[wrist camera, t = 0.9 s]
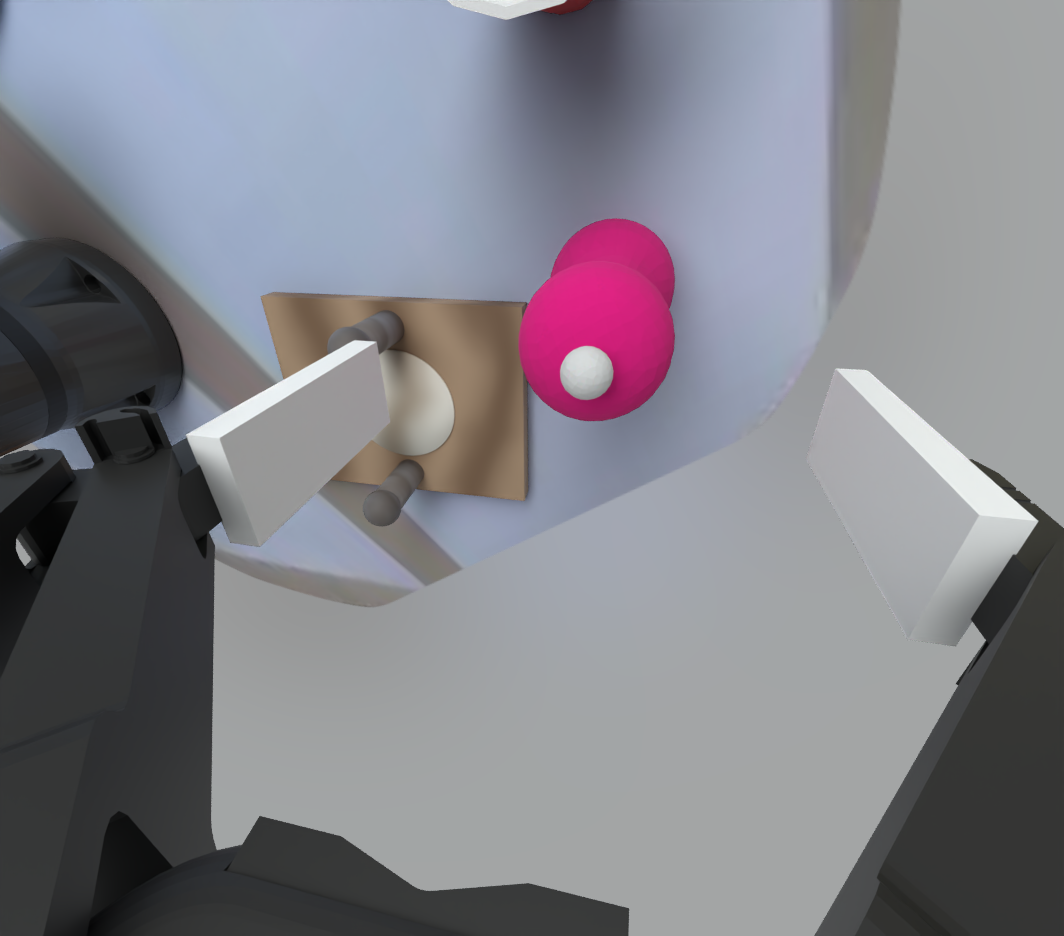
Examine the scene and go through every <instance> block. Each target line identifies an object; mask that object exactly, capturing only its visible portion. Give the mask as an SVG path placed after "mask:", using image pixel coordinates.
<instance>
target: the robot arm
mask: <svg viewBox="0 0 1064 936" xmlns="http://www.w3.org/2000/svg"><path fill="white" fill-rule="evenodd" d="M181 375H182V366H181V358H180V353H179V349H178V345H177V342H176V339H175V337H174V334H173V332H172V330H171V327H170V325H169V323H168V322H167V320H166V318H165V316H164V314H163V313H162V311H161V310H160V308H159V307H158V305H157V304H156V302H155V301H154V299H153V298H152V297H151V296H150V294H149V293H148V292H147V291H146V289H145V288H144V287H143V286H142V285H141V284H140V283H139V282H138V281H137V280H136V279H135V278H134V277H133V276H132V275H131V274H130V273H129V272H128V271H127V270H126V269H124V268H123V267H122V266H121V265H119V264H118V263H117V262H116V261H114V260H113V259H111V258H110V257H108V256H107V255H105V254H104V253H102V252H100V251H98V250H96V249H95V248H92V247H90V246H88V245H86V244H83V243H80V242H77V241H74V240H70V239H64V238H48V239H39V240H29V241H22V242H18V243H15V244H11V245H9V246H7V247H5V248H3V249H1V250H0V457H1V456H3V455H5V454H7V453H10V452H12V451H14V450H16V449H19V448H21V447H23V446H25V445H28V444H30V443H32V442H34V441H37V440H39V439H41V438H43V437H46V436H48V435H50V434H53V433H55V432H57V431H60V430H63V429H71V428H76V430H77V432H78V434H79V436H80V438H81V440H82V441H83V443H84V445H85V447H86V449H87V451H88V453H89V454H90V456H91V458H92V460H93V462H94V466H93V468H92V469H79V470H72V469H71V467H70V465H69V464H68V462H67V460H66V458H65V457H64V455H63V453H62V452H61V451H60V450H55V449H39V450H33V451H29V450H24V451H19V452H17V453H12V454H8V455H6V456H4V457H3V458H1V459H0V936H628V926H629V924H628V923H629V908H625V907H621V906H617V905H613V904H609V903H605V902H601V901H597V900H593V899H589V898H585V897H581V896H577V895H573V894H569V893H565V892H561V891H557V890H553V889H549V888H545V887H541V886H537V885H533V884H529V883H527V884H515V885H502V886H490V887H478V888H465V889H453V890H439V891H424V890H420V889H417V888H415V887H414V886H412V885H410V884H409V883H408V882H406V881H405V880H403V879H402V878H400V877H399V876H398V875H396V874H395V873H393V872H392V871H390V870H389V869H387V868H386V867H384V866H383V865H382V864H380V863H379V862H377V861H376V860H374V859H373V858H372V857H370V856H368V855H367V854H366V853H364V852H363V851H361V850H360V849H359V848H357V847H356V846H354V845H353V844H351V843H350V842H348V841H347V840H346V839H344V838H343V837H341V836H337V835H334V834H330V833H326V832H322V831H318V830H313V829H310V828H306V827H302V826H297V825H294V824H290V823H286V822H282V821H278V820H274V819H270V818H266V817H262V816H259V818H258V820H257V821H256V823H255V825H254V826H253V828H252V830H251V831H250V833H249V835H248V836H247V838H246V840H245V841H244V843H243V844H242V845H239V846H234V847H230V848H225V849H221V850H216V846H215V843H214V840H213V834H212V828H211V776H212V773H211V772H212V771H211V770H212V702H213V698H212V697H213V629H214V556H215V545H214V543H213V540H212V538H211V536H210V534H209V531H210V530H211V529H213V528H214V527H215V526H216V525H218V524H219V523H220V522H222V524H223V526H224V529H225V531H226V534H227V536H228V539H229V541H230V543H235V544H242V545H249V546H256V547H260V546H261V545H263V544H264V543H265V542H266V541H267V540H268V539H269V538H270V537H271V536H272V535H273V534H274V533H275V532H276V531H277V530H278V529H279V528H280V527H281V526H282V525H283V524H284V523H285V522H287V521H288V520H289V519H290V518H291V517H292V516H293V515H294V514H295V513H296V512H297V511H298V510H299V509H300V508H301V507H302V506H303V505H304V504H305V503H306V502H307V501H308V500H309V499H310V498H312V497H313V496H314V495H315V494H316V493H317V492H318V491H319V490H320V489H321V488H322V487H323V486H324V485H325V484H326V483H327V482H328V481H329V480H330V479H331V478H332V477H333V476H334V475H336V474H337V473H338V472H339V471H340V470H341V469H342V468H343V467H344V466H345V465H346V464H347V463H348V462H349V461H350V460H351V459H352V458H353V457H354V456H355V455H356V454H357V453H358V452H359V451H361V450H362V449H363V448H364V447H365V446H366V445H367V444H368V443H369V442H370V441H371V440H372V439H373V438H374V437H375V436H376V435H377V434H378V433H379V432H380V431H381V430H382V429H383V428H384V427H386V426H387V425H388V424H389V423H390V418H389V412H388V406H387V400H386V394H385V388H384V382H383V376H382V371H381V365H380V359H379V353H378V347H377V342H374V341H357V340H354V341H352V342H350V343H348V344H347V345H345V346H343V347H341V348H340V349H338V350H336V351H334V352H332V353H331V354H329V355H327V356H325V357H323V358H322V359H320V360H318V361H316V362H315V363H313V364H311V365H309V366H307V367H306V368H304V369H302V370H300V371H299V372H297V373H295V374H293V375H291V376H290V377H288V378H286V379H284V380H283V381H281V382H279V383H277V384H275V385H274V386H272V387H270V388H268V389H267V390H265V391H263V392H261V393H259V394H258V395H256V396H254V397H252V398H250V399H249V400H247V401H245V402H243V403H242V404H240V405H238V406H236V407H234V408H233V409H231V410H229V411H227V412H226V413H224V414H222V415H220V416H218V417H217V418H215V419H213V420H211V421H210V422H208V423H206V424H204V425H202V426H201V427H199V428H197V429H195V430H194V431H192V432H190V433H188V434H186V437H187V438H186V439H184V440H182V441H180V442H179V443H177V444H175V445H173V446H171V444H170V442H169V439H168V437H167V435H166V433H165V430H164V428H163V426H162V423H161V421H160V419H159V416H158V414H157V412H156V411H157V410H159V409H161V408H163V407H165V406H166V405H168V404H169V403H170V402H171V401H172V400H173V399H174V397H175V396H176V394H177V392H178V389H179V387H180V383H181ZM806 460H807V462H808V464H809V465H810V467H811V469H812V471H813V472H814V474H815V476H816V478H817V480H818V481H819V483H820V485H821V487H822V489H823V490H824V492H825V494H826V495H827V497H828V499H829V501H830V503H831V505H832V506H833V508H834V510H835V512H836V513H837V515H838V517H839V519H840V520H841V522H842V524H843V526H844V528H845V529H846V531H847V533H848V535H849V537H850V538H851V540H852V542H853V544H854V545H855V547H856V549H857V551H858V553H859V554H860V556H861V558H862V560H863V561H864V563H865V565H866V567H867V568H868V570H869V572H870V574H871V576H872V577H873V579H874V581H875V583H876V585H877V586H878V588H879V590H880V592H881V593H882V595H883V597H884V599H885V601H886V602H887V604H888V606H889V608H890V610H891V611H892V613H893V615H894V616H895V618H896V620H897V622H898V624H899V626H900V627H901V629H902V631H903V633H904V634H905V636H906V638H907V639H908V640H914V641H921V642H929V643H935V644H942V645H950V646H956V645H957V644H958V642H959V640H960V639H961V637H962V636H963V635H964V633H965V632H966V630H967V629H968V627H969V625H970V624H971V622H973V623H974V624H975V626H976V627H977V628H978V630H979V631H980V633H981V634H982V635H983V637H984V638H985V639H986V641H985V643H984V644H983V646H982V647H981V648H980V650H979V651H978V653H977V654H976V656H975V657H974V658H973V660H972V661H971V663H970V664H969V666H968V667H967V669H966V670H965V671H964V673H963V674H962V676H961V677H960V678H959V680H958V681H957V683H956V684H957V685H958V687H957V689H956V690H955V692H954V694H953V696H952V697H951V699H950V701H949V703H948V704H947V706H946V708H945V710H944V711H943V713H942V715H941V717H940V718H939V720H938V722H937V723H936V725H935V727H934V729H933V730H932V732H931V734H930V736H929V737H928V739H927V741H926V743H925V744H924V746H923V748H922V750H921V751H920V753H919V755H918V757H917V758H916V760H915V762H914V763H913V765H912V767H911V769H910V770H909V772H908V774H907V776H906V777H905V779H904V781H903V783H902V784H901V786H900V788H899V790H898V791H897V793H896V795H895V797H894V798H893V800H892V802H891V804H890V805H889V807H888V809H887V810H886V812H885V814H884V816H883V817H882V819H881V821H880V823H879V824H878V826H877V828H876V830H875V831H874V833H873V835H872V837H871V838H870V840H869V842H868V843H867V845H866V847H865V849H864V850H863V852H862V854H861V856H860V857H859V859H858V861H857V863H856V864H855V866H854V868H853V870H852V871H851V873H850V875H849V877H848V879H847V880H846V882H845V884H844V885H843V887H842V889H841V891H840V892H839V894H838V896H837V898H836V899H835V901H834V903H833V904H832V906H831V908H830V910H829V911H828V913H827V915H826V917H825V918H824V920H823V922H822V924H821V925H820V927H819V929H818V931H817V932H816V934H815V936H1064V528H1063V527H1061V526H1060V525H1059V524H1058V523H1057V522H1056V521H1054V520H1053V519H1052V518H1051V517H1050V516H1048V515H1047V514H1046V513H1045V512H1044V511H1042V510H1041V509H1040V508H1039V507H1038V506H1037V505H1035V504H1032V503H1030V501H1031V500H1030V499H1028V498H1027V497H1026V496H1025V495H1024V494H1023V493H1021V492H1020V491H1016V488H1015V487H1014V486H1013V485H1012V484H1011V483H1009V482H1008V481H1007V480H1006V479H1005V478H1004V477H1002V476H1001V475H1000V474H999V473H997V472H995V471H993V470H991V469H989V468H987V467H986V466H984V465H982V464H980V463H978V462H976V461H974V460H972V459H967V458H966V457H965V456H964V455H963V454H961V453H960V452H959V451H958V450H957V449H956V448H955V447H953V446H952V445H951V444H950V443H949V442H948V441H947V440H946V439H944V438H943V437H942V436H941V435H940V434H939V433H938V432H937V431H936V430H934V429H933V428H932V427H931V426H930V425H929V424H928V423H926V422H925V421H924V420H923V419H922V418H921V417H919V416H918V415H917V414H916V413H915V412H914V411H913V410H912V409H910V408H909V407H908V406H907V405H906V404H905V403H904V402H902V401H901V400H900V399H899V398H898V397H897V396H896V395H895V394H893V393H892V392H891V391H890V390H889V389H888V388H887V387H886V386H884V385H883V384H882V383H881V382H880V381H879V380H878V379H876V378H875V377H874V376H873V375H872V374H871V373H870V372H869V371H867V370H853V369H835V371H834V374H833V377H832V380H831V384H830V386H829V390H828V393H827V396H826V399H825V402H824V405H823V408H822V411H821V414H820V417H819V420H818V423H817V426H816V429H815V432H814V435H813V438H812V441H811V445H810V447H809V450H808V454H807V457H806ZM16 538H17V539H18V540H19V542H20V543H21V545H22V546H23V548H24V549H25V551H26V552H27V553H28V555H29V556H30V557H31V561H30V562H29V563H28V564H27V565H26V566H24V565H23V563H22V562H21V560H20V559H19V556H18V554H17V552H16Z"/></svg>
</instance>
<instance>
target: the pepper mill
mask: <svg viewBox="0 0 1064 936" xmlns="http://www.w3.org/2000/svg"><path fill="white" fill-rule="evenodd" d="M674 283H675V276H674V267H673V263H672V260H671V257H670V255H669V252H668V250H667V248H666V247H665V245H664V244H663V242H662V241H661V239H660V238H659V237H658V236H657V235H656V234H655V233H654V232H652V231H651V230H649V229H648V228H647V227H645V226H643V225H641V224H639V223H637V222H634V221H630V220H626V219H605V220H601V221H598V222H594V223H592V224H590V225H588V226H586V227H584V228H583V229H581V230H580V231H578V232H577V233H576V234H575V235H573V236H572V237H571V238H570V239H569V240H568V242H567V243H566V244H565V245H564V247H563V248H562V250H561V252H560V253H559V255H558V257H557V259H556V261H555V264H554V267H553V270H552V273H551V278H550V279H549V280H547V281H546V282H545V283H544V284H543V285H542V287H541V288H540V289H539V290H538V291H537V292H536V293H535V294H534V295H533V297H532V299H531V301H530V302H529V304H528V306H527V308H526V310H525V313H524V316H523V319H522V322H521V326H520V331H519V343H518V349H519V356H520V363H521V366H522V369H523V371H524V373H525V376H526V378H527V381H528V383H529V384H530V386H531V387H532V389H533V391H534V392H535V393H536V394H537V395H538V396H539V397H540V399H541V400H542V401H543V402H545V403H546V404H547V405H548V406H550V407H551V408H552V409H554V410H555V411H557V412H559V413H561V414H563V415H565V416H567V417H571V418H574V419H578V420H583V421H603V420H608V419H613V418H617V417H620V416H622V415H625V414H627V413H629V412H631V411H633V410H635V409H636V408H638V407H640V406H641V405H642V404H644V403H645V402H646V401H647V400H648V399H649V398H650V397H651V396H652V395H653V394H654V393H655V391H656V390H657V389H658V387H659V386H660V384H661V383H662V381H663V380H664V379H665V376H666V374H667V372H668V369H669V367H670V363H671V359H672V355H673V351H674V340H675V334H674V326H673V319H672V316H671V313H670V311H669V308H670V306H671V302H672V297H673V293H674Z"/></svg>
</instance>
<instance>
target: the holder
mask: <svg viewBox="0 0 1064 936" xmlns="http://www.w3.org/2000/svg"><path fill="white" fill-rule="evenodd" d="M261 300H262V303H263V307H264V311H265V314H266V318H267V321H268V325H269V329H270V332H271V336H272V339H273V343H274V346H275V350H276V354H277V357H278V361H279V364H280V368H281V372H282V375H283V379H286V378H288V377H290V376H291V375H293V374H295V373H297V372H299V371H300V370H302V369H304V368H306V367H307V366H309V365H311V364H313V363H315V362H316V361H318V360H320V359H322V358H323V357H325V356H327V355H329V354H331V353H332V352H334V351H336V350H338V349H340V348H341V347H343V346H345V345H347V344H348V343H350V342H352V341H354V340H357V341H374V342H377V347H378V353H379V359H380V365H381V371H382V376H383V382H384V388H385V394H386V400H387V406H388V412H389V418H390V423H389V424H388V425H387V426H386V427H384V428H383V429H382V430H381V431H380V432H379V433H378V434H377V435H376V436H375V437H374V438H373V439H372V440H371V441H370V442H369V443H368V444H367V445H366V446H365V447H364V448H363V449H362V450H361V451H359V452H358V453H357V454H356V455H355V456H354V457H353V458H352V459H351V460H350V461H349V462H348V463H347V464H346V465H345V466H344V467H343V468H342V469H341V470H340V471H339V472H338V473H337V474H336V475H334V476H333V477H332V478H331V479H330V480H338V481H347V482H356V483H366V484H375V485H380V487H379V488H378V489H377V490H376V491H374V492H372V493H371V494H370V495H369V496H368V497H367V498H366V500H365V502H364V505H363V512H364V515H365V517H366V519H367V520H368V521H369V522H370V523H372V524H374V525H376V526H387V525H390V524H392V523H393V522H395V521H396V520H397V518H398V517H399V515H400V512H401V508H402V507H403V506H404V504H405V503H406V502H407V500H408V499H409V497H410V496H411V495H412V493H413V492H414V491H415V489H420V490H429V491H439V492H448V493H457V494H466V495H475V496H484V497H493V498H502V499H511V500H521V501H525V498H526V496H527V493H528V424H527V378H526V376H525V373H524V371H523V369H522V366H521V363H520V356H519V349H518V343H519V331H520V326H521V322H522V319H523V316H524V313H525V310H526V302H503V301H478V300H454V299H429V298H404V297H379V296H355V295H330V294H305V293H280V292H272V293H269V294H266V295H263V296H261Z"/></svg>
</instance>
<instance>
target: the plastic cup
mask: <svg viewBox="0 0 1064 936" xmlns="http://www.w3.org/2000/svg"><path fill="white" fill-rule="evenodd" d="M448 1H449V2H450V3H451V4H452V5H453V6H455V7H459V8H463V9H467V10H471V11H474V12H478V13H482V14H486V15H490V16H493V17H497V18H501V19H505V20H508V19H511V18H515V17H518V16H522V15H525V14H529V13H532V12H535V11H539V10H541V11H544V12H548V13H555V14H559V15H561V14H565V13H569V12H573V11H576V10H580V9H583V8H584V7H585V6H586V5H588V4H589V3H590V2H591V1H592V0H448Z"/></svg>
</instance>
